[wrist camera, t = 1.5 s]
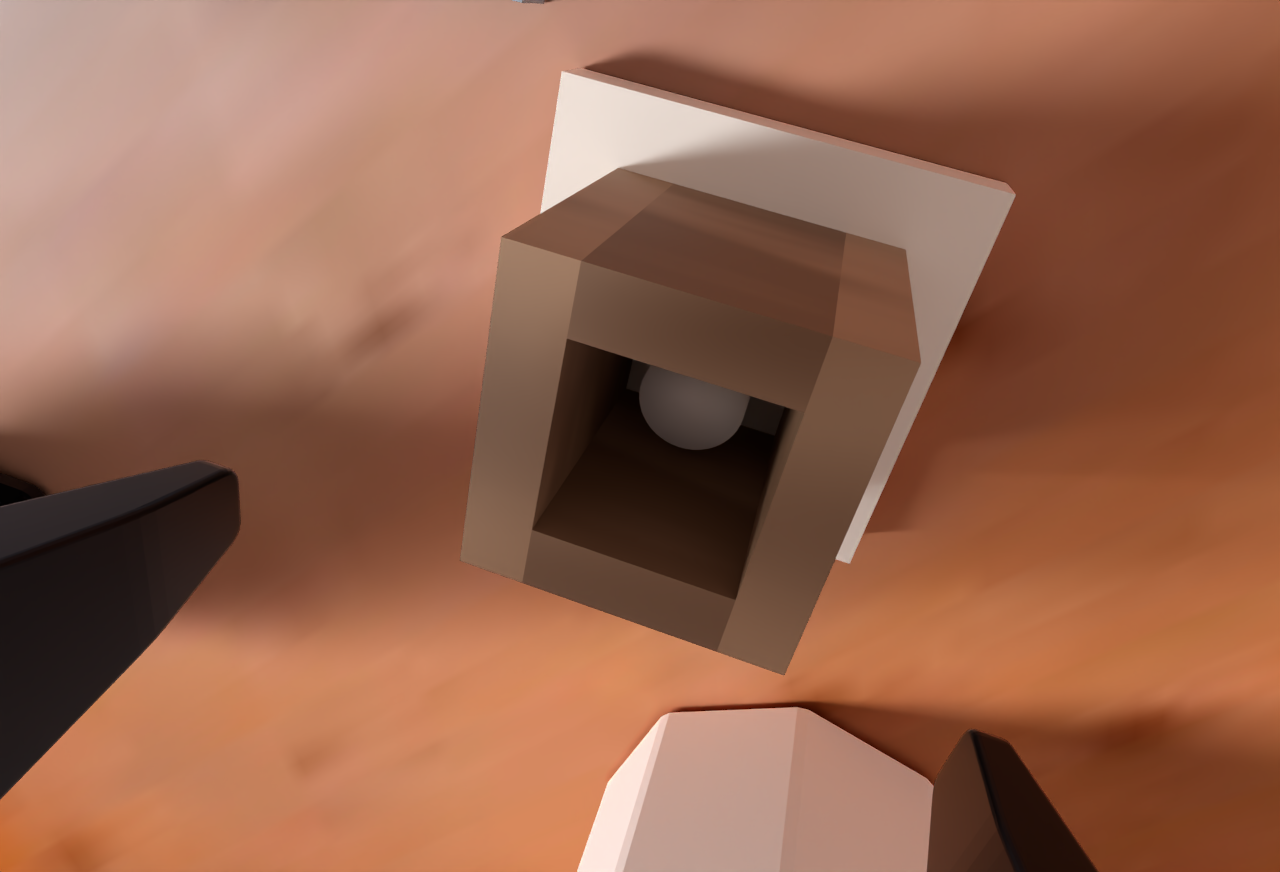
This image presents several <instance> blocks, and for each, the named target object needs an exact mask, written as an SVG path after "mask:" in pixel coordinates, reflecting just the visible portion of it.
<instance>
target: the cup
mask: <svg viewBox="0 0 1280 872" xmlns="http://www.w3.org/2000/svg"><path fill="white" fill-rule="evenodd" d="M933 788H934V786H933V785H932V784H931V783H930V781H929V780H928V779H927V778H925V777H924V776H922V775H920V774H918V773H917V772H915V771H913V770H912V769H910V768H908V767H906V766H905V765H903V764H901V763H899V762H898V761H896V760H894V759H893V758H891V757H889V756H887V755H886V754H884V753H882V752H881V751H879V750H877V749H875V748H874V747H872V746H870V745H869V744H867V743H865V742H863V741H862V740H860V739H858V738H856V737H855V736H853V735H851V734H850V733H848V732H846V731H844V730H843V729H841V728H839V727H838V726H836V725H834V724H832V723H831V722H829V721H827V720H826V719H824V718H822V717H820V716H819V715H817V714H815V713H813V712H812V711H810V710H807V709H803V708H799V707H789V708H766V709H743V710H720V711H697V712H674V713H668V714H665V715H663V716H661V718H660V719H659V720H658V721H657V722H656V724H655V725H654V726H653V727H652V729H651V730H650V731H649V732H648V734H647V735H646V736H645V737H644V738H643V740H642V741H641V742H640V743H639V745H638V746H637V747H636V748H635V750H634V751H633V752H632V753H631V754H630V756H629V757H628V758H627V759H626V761H625V762H624V763H623V764H622V766H621V767H620V768H619V769H618V770H617V772H616V773H615V774H614V775H613V777H612V778H611V779H610V780H609V782H608V784H607V787H606V790H605V792H604V795H603V798H602V801H601V804H600V807H599V810H598V813H597V815H596V818H595V821H594V824H593V827H592V830H591V833H590V836H589V839H588V841H587V844H586V847H585V850H584V853H583V856H582V859H581V862H580V864H579V867H578V870H577V872H927V860H928V846H929V833H930V820H931V806H932V794H933Z"/></svg>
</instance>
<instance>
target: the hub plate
mask: <svg viewBox="0 0 1280 872" xmlns="http://www.w3.org/2000/svg"><path fill="white" fill-rule="evenodd" d="M513 1H517V2H521V3H541V4H544V0H513Z"/></svg>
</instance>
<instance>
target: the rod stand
mask: <svg viewBox="0 0 1280 872" xmlns="http://www.w3.org/2000/svg"><path fill="white" fill-rule="evenodd" d="M617 168H621V169H624V170H628V171H631V172H635V173H638V174H642V175H645V176H649V177H652V178H656V179H659V180H663V181H666V182H670V183H673V184H677V185H680V186H684V187H687V188H691V189H695V190H698V191H702V192H705V193H709V194H712V195H716V196H719V197H723V198H726V199H730V200H733V201H737V202H740V203H744V204H747V205H751V206H754V207H758V208H761V209H765V210H768V211H772V212H775V213H779V214H782V215H786V216H789V217H793V218H796V219H800V220H804V221H807V222H811V223H814V224H818V225H821V226H825V227H828V228H832V229H835V230H839V231H842V232H846V233H849V234H853V235H856V236H860V237H863V238H867V239H870V240H874V241H877V242H881V243H884V244H888V245H891V246H895V247H898V248H902V249H905V250H906V255H907V262H908V270H909V277H910V284H911V292H912V299H913V306H914V314H915V321H916V329H917V336H918V343H919V351H920V358H921V365H920V367H919V369H918V372H917V374H916V376H915V378H914V381H913V383H912V385H911V387H910V390H909V392H908V394H907V397H906V399H905V401H904V403H903V406H902V408H901V410H900V413H899V415H898V417H897V419H896V422H895V424H894V426H893V429H892V431H891V433H890V435H889V438H888V440H887V442H886V445H885V447H884V449H883V451H882V454H881V456H880V458H879V461H878V463H877V465H876V467H875V470H874V472H873V474H872V477H871V479H870V481H869V483H868V486H867V488H866V490H865V492H864V495H863V497H862V499H861V502H860V504H859V506H858V508H857V511H856V513H855V515H854V518H853V520H852V522H851V524H850V527H849V529H848V531H847V534H846V536H845V538H844V540H843V543H842V545H841V547H840V550H839V552H838V554H837V556H836V559H837V560H840V561H843V562H846V563H849V564H850V562H851V559H852V557H853V555H854V553H855V551H856V548H857V546H858V544H859V542H860V539H861V537H862V535H863V533H864V531H865V528H866V526H867V524H868V522H869V520H870V517H871V515H872V513H873V511H874V508H875V506H876V504H877V502H878V500H879V497H880V495H881V493H882V491H883V488H884V486H885V484H886V482H887V480H888V477H889V475H890V473H891V471H892V469H893V466H894V464H895V462H896V460H897V458H898V455H899V453H900V451H901V449H902V446H903V444H904V442H905V440H906V438H907V435H908V433H909V431H910V429H911V426H912V424H913V422H914V420H915V418H916V415H917V413H918V411H919V409H920V407H921V404H922V402H923V400H924V398H925V395H926V393H927V391H928V389H929V387H930V384H931V382H932V380H933V378H934V376H935V373H936V371H937V369H938V367H939V364H940V362H941V360H942V358H943V356H944V353H945V351H946V349H947V347H948V345H949V342H950V340H951V338H952V336H953V333H954V331H955V329H956V327H957V325H958V322H959V320H960V318H961V316H962V314H963V311H964V309H965V307H966V305H967V302H968V300H969V298H970V296H971V294H972V291H973V289H974V287H975V285H976V283H977V280H978V278H979V276H980V274H981V271H982V269H983V267H984V265H985V263H986V260H987V258H988V256H989V254H990V252H991V249H992V247H993V245H994V243H995V240H996V238H997V236H998V234H999V232H1000V229H1001V227H1002V225H1003V223H1004V221H1005V218H1006V216H1007V214H1008V212H1009V209H1010V207H1011V205H1012V203H1013V201H1014V198H1015V196H1016V194H1015V193H1014V191H1013V190H1012V189H1011V188H1010V186H1009V185H1008V184H1007V183H1005V182H1001V181H997V180H994V179H990V178H986V177H982V176H979V175H975V174H971V173H968V172H964V171H960V170H957V169H953V168H949V167H945V166H942V165H938V164H934V163H931V162H927V161H923V160H920V159H916V158H912V157H909V156H905V155H901V154H897V153H894V152H890V151H886V150H883V149H879V148H875V147H872V146H868V145H864V144H860V143H857V142H853V141H849V140H846V139H842V138H838V137H835V136H831V135H827V134H824V133H820V132H816V131H812V130H809V129H805V128H801V127H798V126H794V125H790V124H787V123H783V122H779V121H775V120H772V119H768V118H764V117H761V116H757V115H753V114H750V113H746V112H742V111H739V110H735V109H731V108H727V107H724V106H720V105H716V104H713V103H709V102H705V101H702V100H698V99H694V98H690V97H687V96H683V95H679V94H676V93H672V92H668V91H665V90H661V89H657V88H654V87H650V86H646V85H642V84H639V83H635V82H631V81H628V80H624V79H620V78H617V77H613V76H609V75H605V74H602V73H598V72H594V71H591V70H587V69H583V68H577V69H572V70H566V71H562V74H561V80H560V87H559V93H558V100H557V107H556V113H555V120H554V126H553V133H552V140H551V146H550V153H549V159H548V166H547V173H546V179H545V186H544V193H543V199H542V206H541V212H540V214H541V213H543V212H544V211H546V210H548V209H549V208H551V207H553V206H554V205H556V204H558V203H560V202H561V201H563V200H565V199H566V198H568V197H570V196H571V195H573V194H575V193H576V192H578V191H580V190H582V189H583V188H585V187H587V186H588V185H590V184H592V183H593V182H595V181H597V180H598V179H600V178H602V177H604V176H605V175H607V174H609V173H610V172H612V171H614V170H615V169H617ZM626 389H629V390H632V391H636V392H639V401H640V407H641V411H642V414H643V416H644V418H645V420H646V422H647V423H648V425H649V426H650V428H651V429H652V430H653V431H654V432H655V433H656V434H657V435H658V436H659V437H661V438H662V439H664V440H665V441H667V442H668V443H670V444H672V445H675V446H677V447H681V448H684V449H690V450H703V449H709V448H713V447H716V446H718V445H720V444H722V443H724V442H725V441H727V440H728V439H730V438H731V437H732V436H733V435H734V434H735V432H736V431H737V430H738V428H739V427H740V425H742V426H746V427H749V428H752V429H755V430H758V431H761V432H764V433H768V434H771V435H774V436H775V434H776V431H777V428H778V425H779V422H780V419H781V416H782V414H783V411H784V408H785V407H784V406H781V405H778V404H774V403H771V402H768V401H765V400H762V399H758V398H755V397H752V396H749V395H746V394H742V393H739V392H736V391H733V390H730V389H726V388H723V387H720V386H717V385H714V384H710V383H707V382H704V381H701V380H698V379H695V378H691V377H688V376H685V375H682V374H679V373H675V372H672V371H669V370H666V369H663V368H659V367H656V366H653V365H650V364H647V363H643V362H640V361H637V360H634V359H633V361H632V365H631V370H630V374H629V378H628V383H627V387H626Z"/></svg>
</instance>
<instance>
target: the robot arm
mask: <svg viewBox="0 0 1280 872" xmlns="http://www.w3.org/2000/svg"><path fill="white" fill-rule="evenodd" d="M240 524H241V516H240V498H239V481H238V477H237V475H236V473H235V471H233V470H232V469H230V468H227V467H225V466H222V465H219V464H216V463H213V462H210V461H206V460H199V461H194V462H190V463H185V464H181V465H177V466H172V467H168V468H164V469H159V470H155V471H151V472H146V473H142V474H138V475H134V476H129V477H125V478H121V479H116V480H112V481H108V482H103V483H99V484H95V485H90V486H86V487H82V488H78V489H73V490H69V491H65V492H60V493H56V494H52V495H47V496H45V495H44V494H43V492H42V491H41V490H40V489H39V488H38V487H36V486H34V485H32V484H29V483H27V482H24V481H21V480H18V479H16V478H13V477H10V476H8V475H5V474H2V473H0V799H1V798H2V797H3V796H4V795H5V794H6V793H7V792H8V791H9V790H10V789H11V788H12V787H13V786H14V785H15V784H16V783H17V782H18V781H19V780H20V779H21V778H22V777H23V776H24V775H25V774H26V773H27V772H28V771H29V770H30V768H31V767H32V766H33V765H34V764H35V763H36V762H37V761H38V760H39V759H40V758H41V757H42V756H43V755H44V754H45V753H46V752H47V751H48V750H49V749H50V748H51V747H52V746H53V745H54V744H55V743H56V742H57V741H58V740H59V739H60V738H61V737H62V736H63V735H64V733H65V732H66V731H67V730H68V729H69V728H70V727H71V726H72V725H73V724H74V723H75V722H76V721H77V720H78V719H79V718H80V717H81V716H82V715H83V714H84V713H85V712H86V711H87V710H88V709H89V708H90V707H91V706H92V705H93V704H94V703H95V702H96V701H97V700H98V698H99V697H100V696H101V695H102V694H103V693H104V692H105V691H106V690H107V689H108V688H109V687H110V686H111V685H112V684H113V683H114V682H115V681H116V680H117V679H118V678H119V677H120V676H121V675H122V674H123V673H124V672H125V671H126V670H127V669H128V668H129V667H130V666H131V665H132V663H133V662H134V661H135V660H136V659H137V658H138V657H139V656H140V655H141V654H142V653H143V652H144V651H145V650H146V649H147V648H148V647H149V646H150V644H151V643H152V642H153V641H154V640H155V639H156V638H157V637H158V636H159V634H160V633H161V632H162V631H163V630H164V629H165V627H166V626H167V625H168V624H169V623H170V621H171V620H172V619H173V618H174V616H175V615H176V614H177V613H178V611H179V610H180V609H181V608H182V606H183V605H184V604H185V603H186V601H187V600H188V599H189V597H190V596H191V595H192V594H193V592H194V591H195V590H196V589H197V587H198V586H199V585H200V584H201V582H202V581H203V580H204V579H205V577H206V576H207V575H208V574H209V572H210V571H211V570H212V569H213V567H214V566H215V565H216V563H217V562H218V561H219V560H220V558H221V557H222V556H223V555H224V553H225V552H226V551H227V550H228V548H229V547H230V546H231V545H232V543H233V542H234V540H235V539H236V537H237V535H238V532H239V529H240ZM927 872H1098V870H1097V869H1096V867H1095V866H1094V864H1093V863H1092V862H1091V860H1090V859H1089V857H1088V856H1087V854H1086V853H1085V851H1084V850H1083V848H1082V847H1081V845H1080V844H1079V843H1078V841H1077V840H1076V838H1075V837H1074V835H1073V834H1072V832H1071V831H1070V829H1069V828H1068V826H1067V825H1066V824H1065V822H1064V821H1063V819H1062V818H1061V816H1060V815H1059V813H1058V812H1057V810H1056V809H1055V807H1054V806H1053V805H1052V803H1051V802H1050V800H1049V799H1048V797H1047V796H1046V794H1045V793H1044V791H1043V790H1042V789H1041V787H1040V786H1039V784H1038V783H1037V781H1036V780H1035V778H1034V777H1033V775H1032V774H1031V772H1030V771H1029V770H1028V768H1027V767H1026V765H1025V764H1024V762H1023V761H1022V759H1021V758H1020V756H1019V755H1018V753H1017V752H1016V751H1015V749H1014V748H1013V746H1012V745H1011V744H1010V743H1009V742H1008V741H1006V740H1005V739H1003V738H1000V737H997V736H994V735H992V734H989V733H986V732H983V731H980V730H977V729H969V730H967V731H966V732H965V733H964V734H963V735H962V737H961V738H960V740H959V741H958V743H957V744H956V746H955V748H954V749H953V751H952V752H951V754H950V756H949V757H948V759H947V760H946V762H945V764H944V765H943V767H942V768H941V770H940V771H939V773H938V775H937V778H936V780H935V784H934V788H933V794H932V806H931V820H930V833H929V846H928V860H927Z"/></svg>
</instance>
